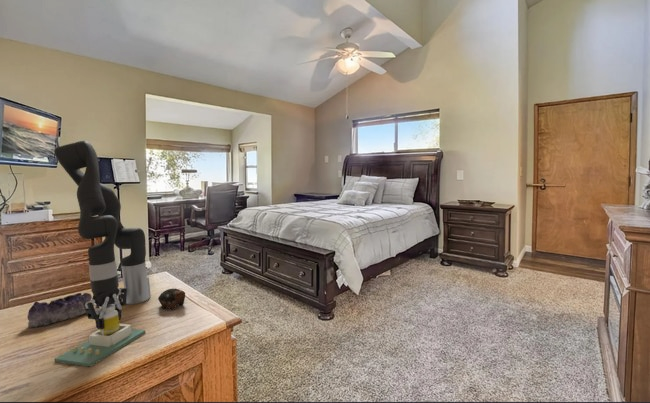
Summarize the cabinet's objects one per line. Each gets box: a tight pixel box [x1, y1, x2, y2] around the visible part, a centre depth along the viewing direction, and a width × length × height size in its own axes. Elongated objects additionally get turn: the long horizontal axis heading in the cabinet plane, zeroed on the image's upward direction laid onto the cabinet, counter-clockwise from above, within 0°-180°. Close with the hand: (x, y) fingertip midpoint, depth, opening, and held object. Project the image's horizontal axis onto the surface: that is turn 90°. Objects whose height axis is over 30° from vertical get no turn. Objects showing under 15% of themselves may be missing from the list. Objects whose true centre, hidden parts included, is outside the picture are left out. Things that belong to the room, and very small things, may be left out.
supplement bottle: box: [99, 304, 120, 336], centre depth 105 cm, size 5×5×10 cm
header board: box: [54, 323, 146, 367], centre depth 103 cm, size 20×14×4 cm
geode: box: [27, 292, 93, 329], centre depth 127 cm, size 20×12×10 cm, turn 143°
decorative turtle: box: [157, 288, 186, 311], centre depth 132 cm, size 10×15×8 cm, turn 70°
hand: (109, 324), depth 105 cm, fingers closed on supplement bottle, 5 cm apart
